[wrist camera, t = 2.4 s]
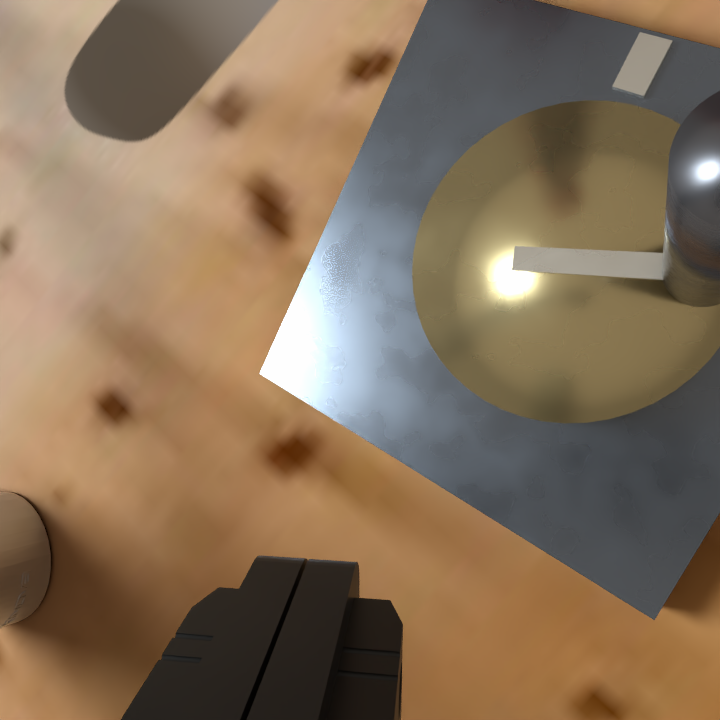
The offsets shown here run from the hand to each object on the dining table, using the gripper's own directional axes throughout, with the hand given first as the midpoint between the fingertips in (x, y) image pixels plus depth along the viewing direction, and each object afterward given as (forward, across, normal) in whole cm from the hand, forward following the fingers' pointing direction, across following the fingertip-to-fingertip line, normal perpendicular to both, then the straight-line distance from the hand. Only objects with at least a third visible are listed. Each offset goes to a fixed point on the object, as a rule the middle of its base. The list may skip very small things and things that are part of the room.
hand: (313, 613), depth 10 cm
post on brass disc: (+21, +7, +3) cm, 22 cm away
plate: (+23, +7, +3) cm, 24 cm away
